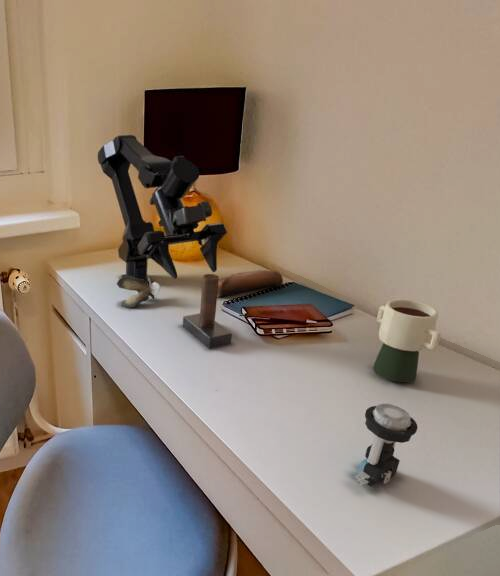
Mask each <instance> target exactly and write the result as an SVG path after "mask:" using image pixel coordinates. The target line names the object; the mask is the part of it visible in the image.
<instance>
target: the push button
mask: <svg viewBox="0 0 500 576" xmlns="http://www.w3.org/2000/svg"><path fill="white" fill-rule="evenodd" d="M364 418H365V423H364V424H365V426H366V428H367V430H368V431H370V432H371V433H372V434H373V439H372V443H371V445H369V446H368V447H366V451H365V454H364V457H365V459H363V460H362V461H361V462H360V465H359V469H358V472H357V475H355V476H354V478H355V479H356V480H354V481H353V484H354V485H356V486H357V487H362V486H363V485H368V486H370V487H372V486H373V485H375V484H377V483H378V482H381V481H382V480H383V481H382V482H383V485H384V484H387V483H388V482H389V481H390V479H391V478H393V477H394V476H396V474H397V471H398V468H399V464H400V461H401V460H400V459H399V458H397V457H396V456H394V453H395V450H396V449H395V447H396V444H397V443H400V444H403V443H408V442H409V441H410V440H411V439H412V436H414V435H415V434H416V433H417V431H418V424H417V422H416V420H415V419H414V418H413V417H411V415H410V414H409V411H407V410H405V408H402V407H401V406H397V405H395V404H391V403H379V404H377V405H371V406H369V407H368V408H367V409H366V410H365V413H364Z"/></svg>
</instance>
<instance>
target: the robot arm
mask: <svg viewBox="0 0 500 576" xmlns="http://www.w3.org/2000/svg"><path fill="white" fill-rule="evenodd" d="M97 162H98V164H99V165H100V167H101V170H102V173H103V174H105V175H106V177H108V178H109V179H110V180H111V182H112V186H113V189H114V193H115V195H116V196H115V197H116V199H117V203H118V206H119V209H120V214H121V216H122V217H121V218H122V220H123V223H124V226H125V228H124V231H123V234H122V243H121V244H120V246H119V247H118V249H117V253H118V258H119V259H120V260H122V261H123V262H124V263H125V274H121V277H125V276H133V277H135V278H138V279H144V280H145V281H146V282H147V283H148V284H149V280H148V278H149V277H150V276H149V275H148V267H149V266H148V265H149V260H150V259H151V260H152V261H153V262H155V263H156V264H157V265H159V266H160V268H162V269H163V270H164V271H165V272H166V273H167V274H168V275H169V276H170V277H172V279H174V280H176V279H178V277H179V276H178V273H177V269H176V266H175V264H174V262H173V259H172V256H171V253H170V247H169V246H170V245H171V246H172V245H177V244H184V243H191V242H192V243H193V242H197V244H198V245H199V246H201V247H200V248H199V251H200V252H201V254H202V257H203V258H204V260H205V262H206V264H207V265H208V268H209V269H210V271H211V272H212V273H215V272H217V270H218V263H217V261H218V260H217V259H218V257H217V255H218V254H217V251H218V244H219V242H221V240H222V239H223V237H225V236H226V234H228V230H227V228H226V225H225V224H224V223H222V222H213V223H206V224H205V225H204V226H203V227H202V229H201V230H198V231H195V229H198V227H199V223H202V222H206V221H207V218H210V217H212V215H213V210H212V206H211V205H210V202H209V201H208V200H207V201H201V202H198V203H197V204H196V205H192V206H191V205H190V206H188V205H184V202H183V198H184V197H186V196H187V195H188V193H189V192H190V191H191V189H192V188H193V187H194V185H195V183H196V182H197V181H198V179H200V169H199V167H198V166H196V164H194V163H193V162H191V161H190V160H187V159H186V158H185V156H184V155H179V156H174V157H173V159H172V160H170V159H168V158H166V157H163V156H159V155H155V154H153V153H152V152H151V151H150V150H149V149H148V148H147V147H145V146H144V145H143V144H142V143H141V142H140V141H139V140H138V139H137V136H136V135H133V134H120V135H118V136H115V137H114V138H113V139H112V140H111V141H109V142H107V143H105V144H103V145H102V147H101V148H100V149H99V150H98V152H97ZM131 165H132V166H133V167H134V169H136V170H137V172H138V174H137V179H138V181H139V183H141V185H142V186H143V188H144V189H155V190H154V192H152V194H151V198H150V199H149V205H150V206H155V209H156V212H157V214H158V217H159V221H158V222H157V223H158V226H159V227H162V228H163V230H161V229H160V230H155V229H154V224H153V223H152V222H151V221H147V222H146V221H145V220H144V219H143V215H142V212H141V208H140V205H139V202H138V199H137V194H136V193H135V189H134V186H133V182H132V179H131V175H130V173H129V170H130V167H131ZM121 277H120V278H121ZM150 279H151V280H152V281H153V279H152V278H151V277H150Z"/></svg>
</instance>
